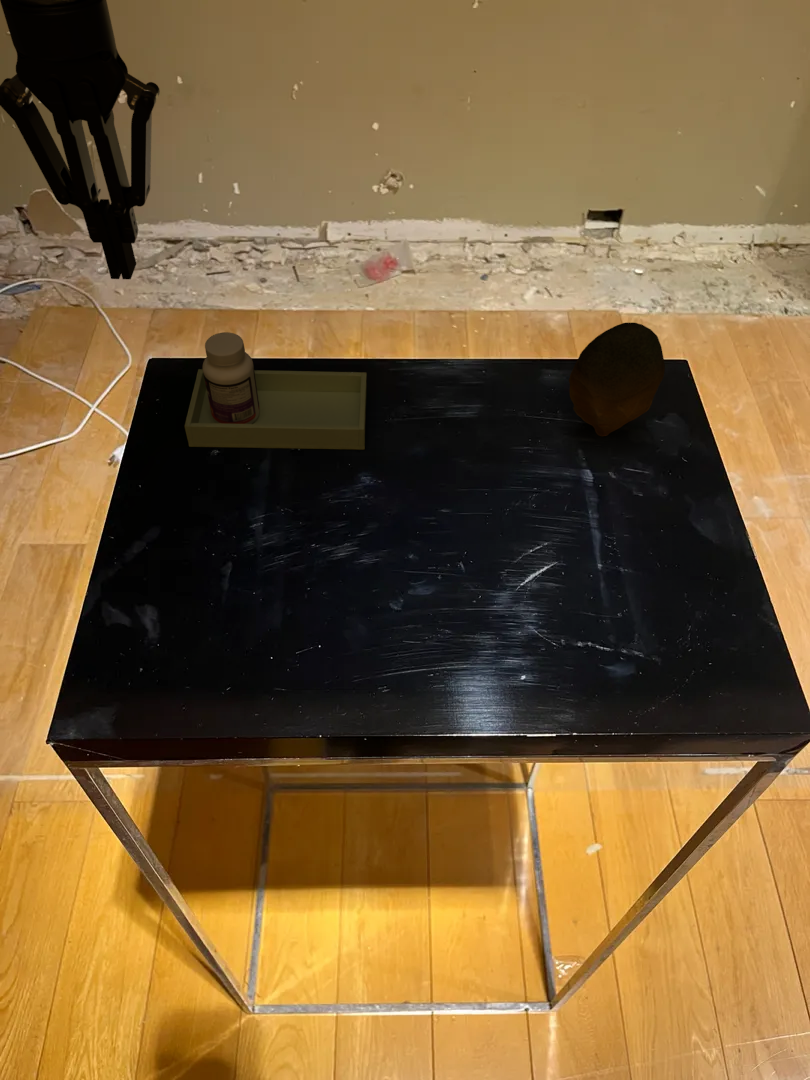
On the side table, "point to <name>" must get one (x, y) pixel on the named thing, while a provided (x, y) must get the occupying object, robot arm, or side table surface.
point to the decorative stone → (617, 377)
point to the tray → (288, 413)
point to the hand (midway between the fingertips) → (123, 271)
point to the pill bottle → (230, 380)
